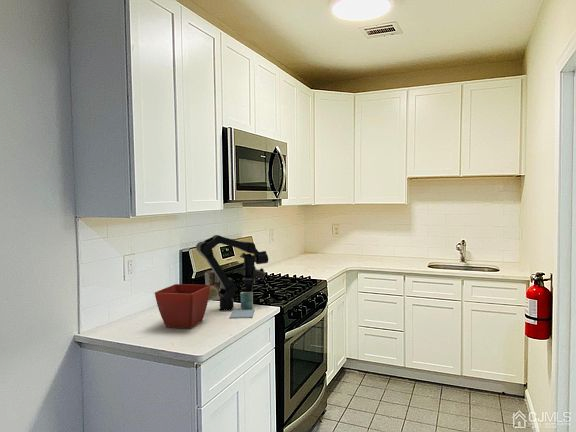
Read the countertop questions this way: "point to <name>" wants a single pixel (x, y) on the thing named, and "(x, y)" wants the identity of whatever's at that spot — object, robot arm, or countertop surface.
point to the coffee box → (212, 285)
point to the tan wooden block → (246, 300)
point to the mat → (242, 314)
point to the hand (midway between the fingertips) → (250, 293)
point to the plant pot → (182, 304)
